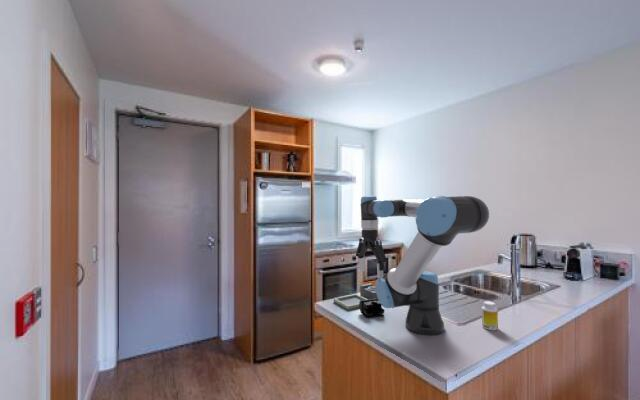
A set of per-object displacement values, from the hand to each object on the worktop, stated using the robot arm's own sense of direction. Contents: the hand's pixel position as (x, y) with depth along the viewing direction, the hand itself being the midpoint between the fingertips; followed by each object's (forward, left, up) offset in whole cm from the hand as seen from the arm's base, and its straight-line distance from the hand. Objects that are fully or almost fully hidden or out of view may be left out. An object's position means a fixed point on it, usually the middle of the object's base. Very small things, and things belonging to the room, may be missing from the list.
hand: (370, 274), depth 134 cm
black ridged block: (0, 0, -19) cm, 19 cm away
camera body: (+18, -14, -19) cm, 29 cm away
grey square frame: (+16, 0, -19) cm, 25 cm away
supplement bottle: (-36, -32, -19) cm, 52 cm away
